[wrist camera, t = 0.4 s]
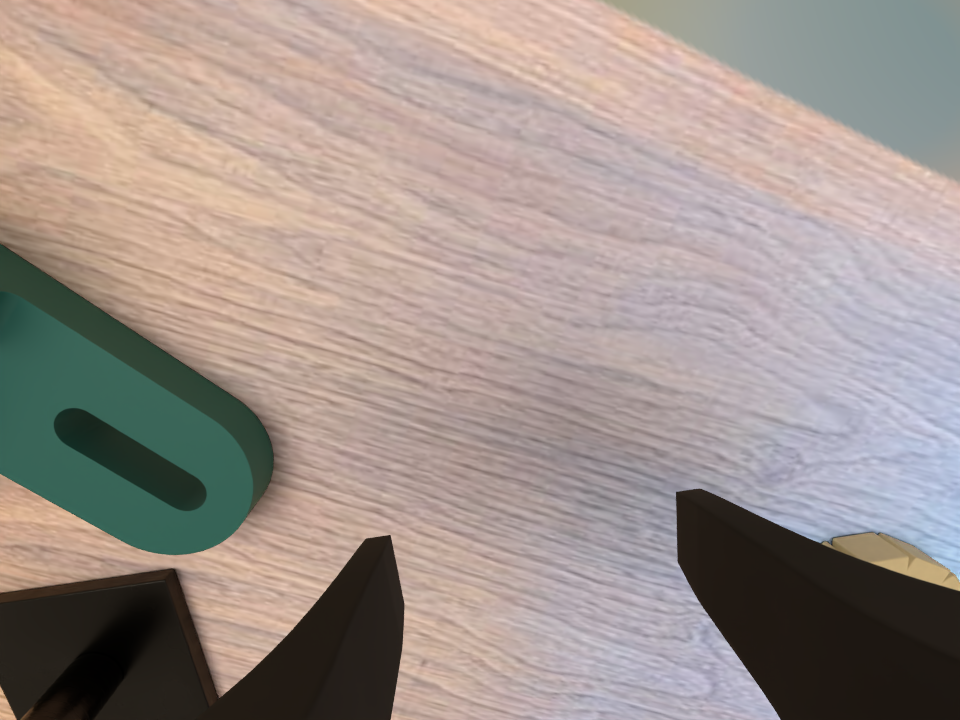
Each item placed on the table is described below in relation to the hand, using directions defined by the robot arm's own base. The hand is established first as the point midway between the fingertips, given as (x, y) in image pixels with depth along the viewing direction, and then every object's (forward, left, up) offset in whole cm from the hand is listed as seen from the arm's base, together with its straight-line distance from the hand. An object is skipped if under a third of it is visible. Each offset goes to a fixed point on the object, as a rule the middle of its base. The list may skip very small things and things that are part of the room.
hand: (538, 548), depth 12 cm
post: (-10, +20, -10) cm, 25 cm away
